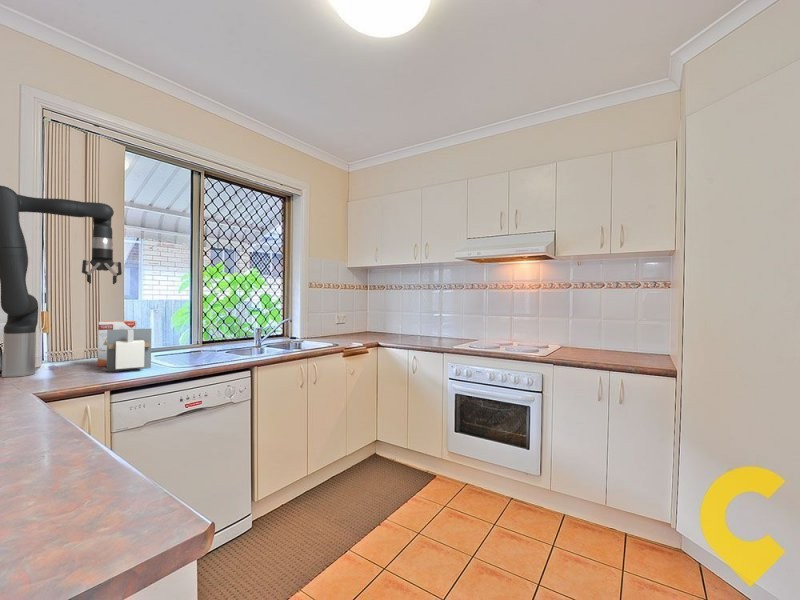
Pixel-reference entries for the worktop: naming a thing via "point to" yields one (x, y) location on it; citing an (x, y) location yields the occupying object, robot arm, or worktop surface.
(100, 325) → the cracker box
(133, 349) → the white block
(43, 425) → the worktop surface
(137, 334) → the wall board
